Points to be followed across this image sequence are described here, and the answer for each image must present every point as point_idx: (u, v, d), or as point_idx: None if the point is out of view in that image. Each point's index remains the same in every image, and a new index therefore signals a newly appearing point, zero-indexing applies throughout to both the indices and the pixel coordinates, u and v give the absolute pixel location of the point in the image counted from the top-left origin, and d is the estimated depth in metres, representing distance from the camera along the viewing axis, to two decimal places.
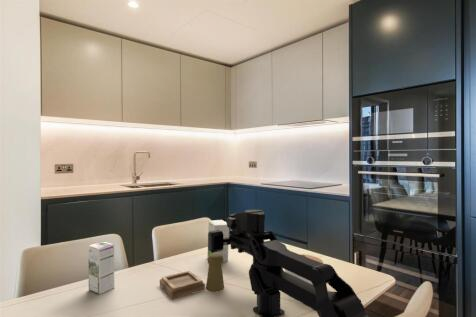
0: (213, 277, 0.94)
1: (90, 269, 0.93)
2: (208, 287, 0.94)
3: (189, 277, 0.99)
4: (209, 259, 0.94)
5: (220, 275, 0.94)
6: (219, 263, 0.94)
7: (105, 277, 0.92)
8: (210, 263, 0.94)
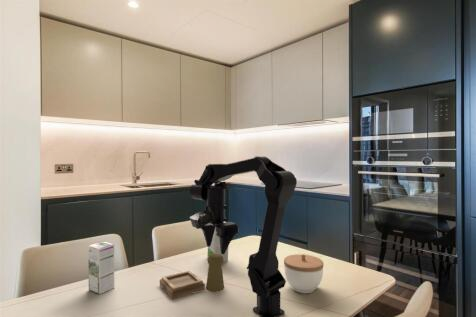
0: (213, 277, 0.94)
1: (90, 269, 0.93)
2: (208, 287, 0.94)
3: (189, 277, 0.99)
4: (209, 259, 0.94)
5: (220, 275, 0.94)
6: (219, 263, 0.94)
7: (105, 277, 0.92)
8: (210, 263, 0.94)
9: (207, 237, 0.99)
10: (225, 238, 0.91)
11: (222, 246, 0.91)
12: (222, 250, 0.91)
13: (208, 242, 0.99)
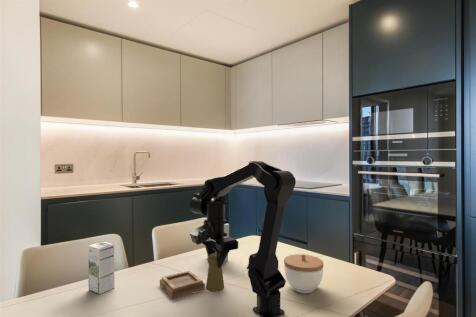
0: (213, 277, 0.94)
1: (90, 269, 0.93)
2: (208, 287, 0.94)
3: (189, 277, 0.99)
4: (209, 259, 0.94)
5: (220, 275, 0.94)
6: None
7: (105, 277, 0.92)
8: (210, 263, 0.94)
9: (209, 253, 0.98)
10: (222, 252, 0.93)
11: (218, 260, 0.93)
12: (219, 264, 0.93)
13: None
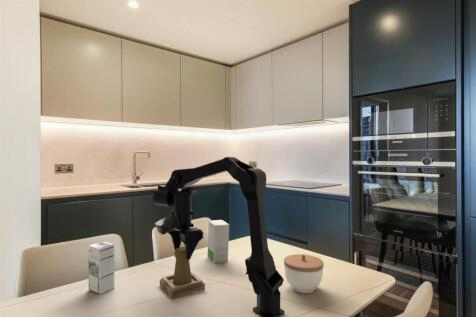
0: (179, 270, 0.93)
1: (90, 269, 0.93)
2: (175, 281, 0.94)
3: None
4: (176, 253, 0.94)
5: (187, 269, 0.94)
6: None
7: (105, 277, 0.92)
8: (177, 257, 0.94)
9: (175, 242, 0.99)
10: (190, 244, 0.91)
11: (187, 252, 0.91)
12: (187, 256, 0.91)
13: (176, 247, 0.99)
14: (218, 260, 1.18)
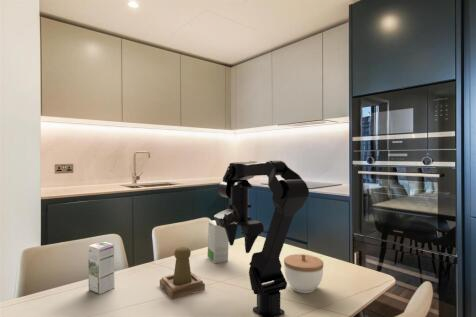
0: (179, 270, 0.93)
1: (90, 269, 0.93)
2: (175, 281, 0.94)
3: None
4: (176, 253, 0.94)
5: (187, 269, 0.94)
6: (186, 256, 0.94)
7: (105, 277, 0.92)
8: (177, 257, 0.94)
9: (230, 236, 0.99)
10: (250, 237, 0.90)
11: (247, 245, 0.90)
12: (247, 249, 0.91)
13: (231, 241, 0.99)
14: (218, 260, 1.18)
